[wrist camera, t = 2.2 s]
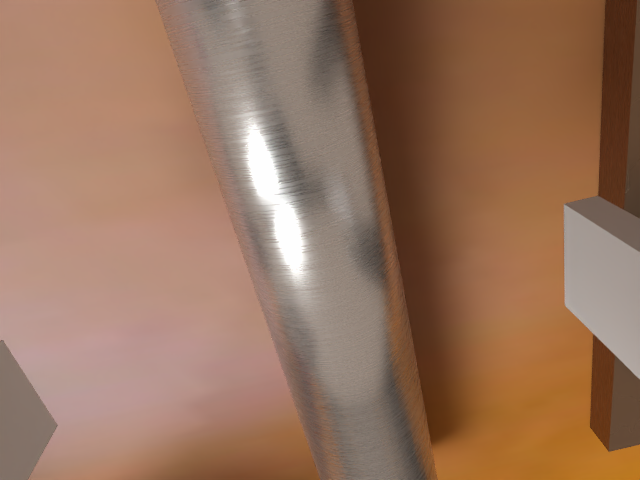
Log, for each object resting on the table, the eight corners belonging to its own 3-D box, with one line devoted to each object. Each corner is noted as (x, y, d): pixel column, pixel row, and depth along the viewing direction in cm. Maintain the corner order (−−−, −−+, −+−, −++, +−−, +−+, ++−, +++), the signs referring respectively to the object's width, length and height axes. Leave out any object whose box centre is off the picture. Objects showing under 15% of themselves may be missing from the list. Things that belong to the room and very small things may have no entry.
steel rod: (-10, -404, 10) (-43, -735, 6) (210, -386, 12) (301, -632, 8) (315, 496, 23) (374, 588, 19) (395, 440, 25) (466, 512, 21)
